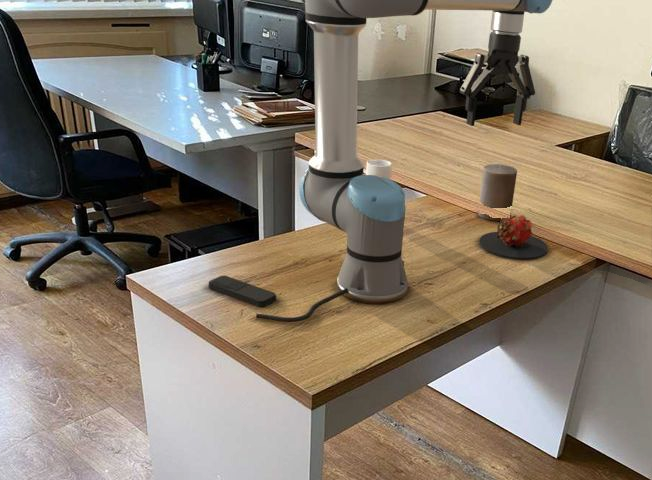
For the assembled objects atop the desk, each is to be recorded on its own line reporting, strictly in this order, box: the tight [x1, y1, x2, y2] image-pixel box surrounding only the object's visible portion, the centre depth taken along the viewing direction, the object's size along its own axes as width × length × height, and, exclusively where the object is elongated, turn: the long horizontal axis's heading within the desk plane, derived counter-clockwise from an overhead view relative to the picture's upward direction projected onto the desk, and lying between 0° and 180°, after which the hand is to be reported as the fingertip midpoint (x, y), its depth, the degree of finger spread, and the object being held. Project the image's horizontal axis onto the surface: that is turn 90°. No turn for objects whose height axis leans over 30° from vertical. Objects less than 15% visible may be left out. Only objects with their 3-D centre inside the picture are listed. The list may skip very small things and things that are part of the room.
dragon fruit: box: [496, 214, 533, 247], centre depth 180 cm, size 8×8×12 cm
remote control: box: [208, 274, 277, 308], centre depth 144 cm, size 5×2×15 cm
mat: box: [478, 231, 549, 261], centre depth 182 cm, size 18×18×1 cm
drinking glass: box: [365, 158, 393, 180], centre depth 188 cm, size 7×7×15 cm
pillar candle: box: [477, 163, 518, 222], centre depth 197 cm, size 10×10×15 cm
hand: (493, 124), depth 176 cm, fingers open, 13 cm apart
